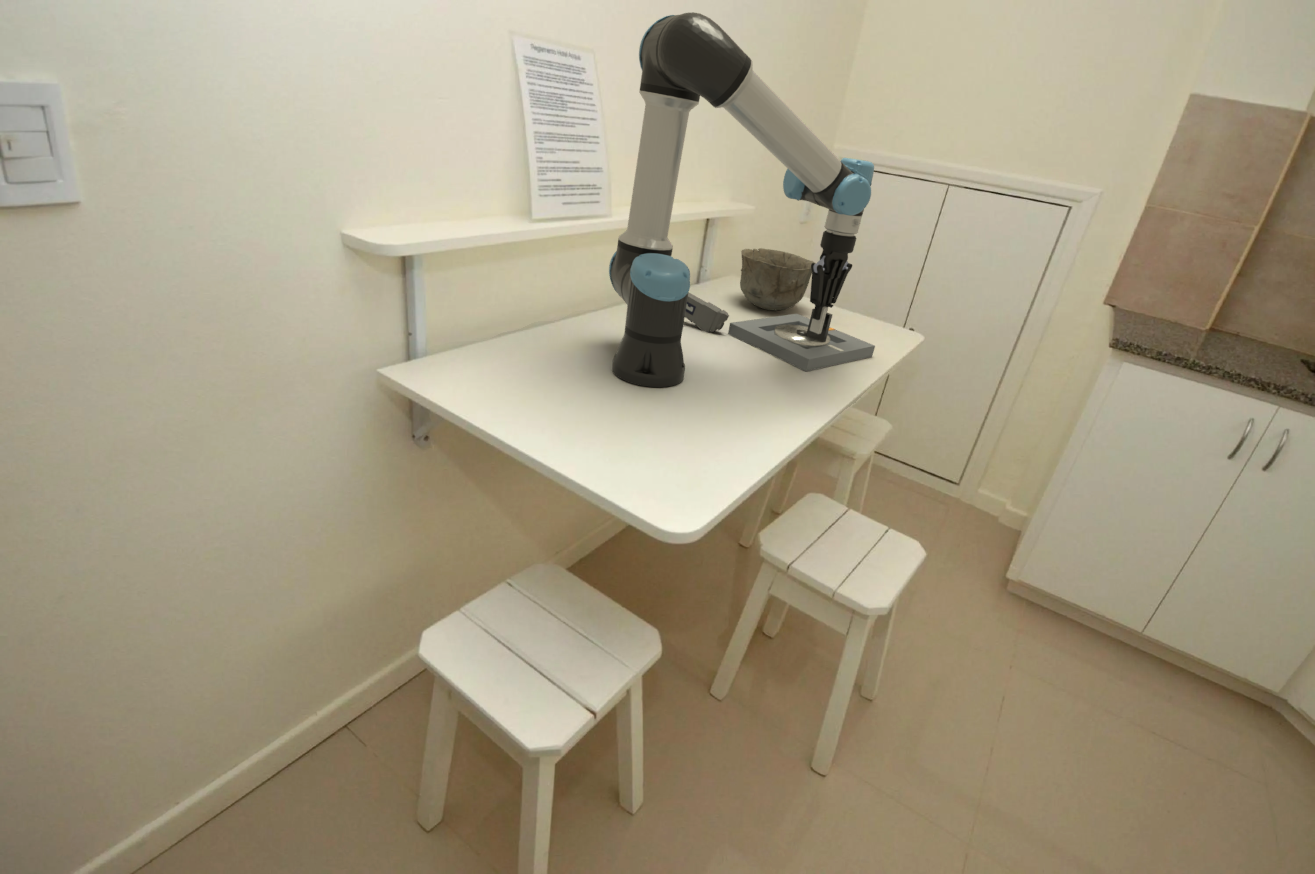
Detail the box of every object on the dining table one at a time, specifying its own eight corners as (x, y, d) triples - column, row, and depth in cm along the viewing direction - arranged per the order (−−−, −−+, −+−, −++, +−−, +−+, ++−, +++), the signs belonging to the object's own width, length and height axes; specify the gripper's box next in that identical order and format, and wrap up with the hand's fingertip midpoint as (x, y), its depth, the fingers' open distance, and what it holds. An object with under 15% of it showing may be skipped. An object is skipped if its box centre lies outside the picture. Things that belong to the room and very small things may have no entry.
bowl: (762, 293, 208) (772, 245, 201) (819, 314, 195) (831, 264, 188) (716, 300, 194) (724, 249, 187) (773, 323, 181) (785, 269, 174)
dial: (808, 352, 157) (817, 319, 153) (762, 334, 165) (769, 301, 162) (839, 343, 166) (848, 311, 163) (794, 326, 175) (801, 295, 171)
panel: (805, 371, 150) (809, 358, 149) (727, 334, 167) (730, 322, 166) (871, 356, 166) (875, 345, 164) (794, 324, 183) (797, 312, 182)
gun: (698, 362, 171) (726, 317, 163) (627, 306, 176) (651, 258, 167) (703, 359, 174) (732, 314, 165) (633, 304, 178) (657, 257, 170)
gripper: (836, 236, 143) (810, 339, 153) (870, 236, 150) (843, 334, 161) (810, 228, 148) (786, 329, 158) (843, 229, 155) (819, 325, 166)
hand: (815, 331), depth 159 cm, fingers closed
